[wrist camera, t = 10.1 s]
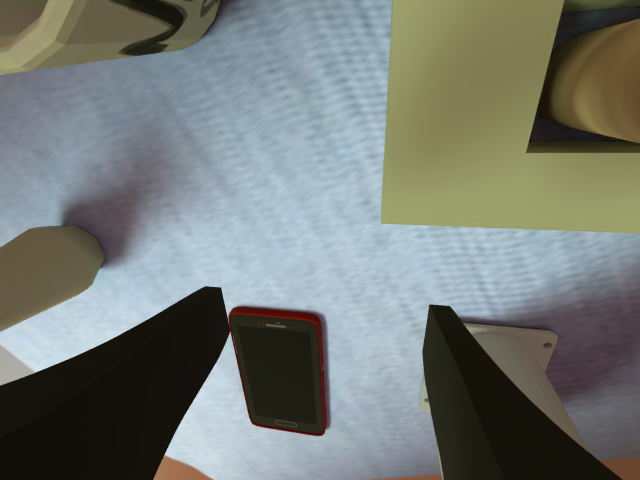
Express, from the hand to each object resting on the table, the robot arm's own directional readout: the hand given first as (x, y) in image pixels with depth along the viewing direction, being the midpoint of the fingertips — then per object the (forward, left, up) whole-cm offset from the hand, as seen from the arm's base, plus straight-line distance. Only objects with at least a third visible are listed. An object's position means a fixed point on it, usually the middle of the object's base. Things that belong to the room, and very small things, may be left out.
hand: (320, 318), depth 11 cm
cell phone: (-16, +6, -11) cm, 20 cm away
